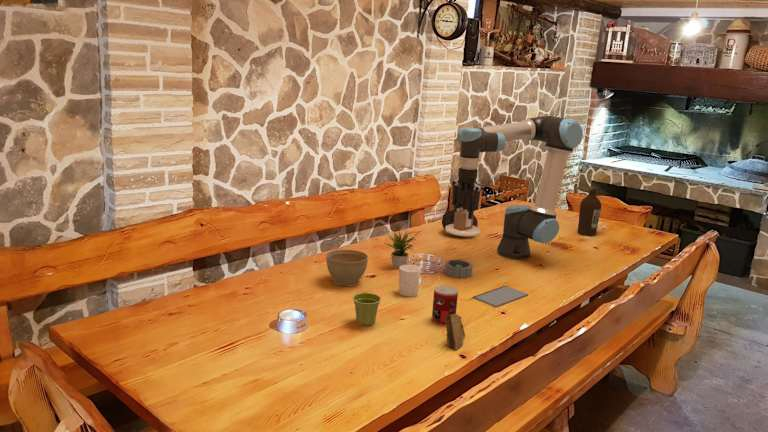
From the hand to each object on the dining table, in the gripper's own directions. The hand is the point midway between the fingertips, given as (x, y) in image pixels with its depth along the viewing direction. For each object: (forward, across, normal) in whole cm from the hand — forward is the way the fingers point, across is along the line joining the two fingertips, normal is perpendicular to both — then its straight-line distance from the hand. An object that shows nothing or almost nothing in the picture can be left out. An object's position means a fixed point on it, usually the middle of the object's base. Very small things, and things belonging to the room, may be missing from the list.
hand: (463, 224), depth 250 cm
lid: (+3, 0, 0) cm, 3 cm away
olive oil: (+23, -3, +108) cm, 110 cm away
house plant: (+22, -19, -15) cm, 33 cm away
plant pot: (+21, +12, -61) cm, 66 cm away
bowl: (+22, 0, 0) cm, 22 cm away
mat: (+22, +20, -4) cm, 30 cm away
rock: (+22, +40, -47) cm, 66 cm away
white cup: (+22, +2, -31) cm, 38 cm away
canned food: (+22, +26, -38) cm, 51 cm away
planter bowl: (+21, -20, -43) cm, 52 cm away
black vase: (+22, -39, +46) cm, 64 cm away
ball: (+21, 0, 0) cm, 21 cm away
